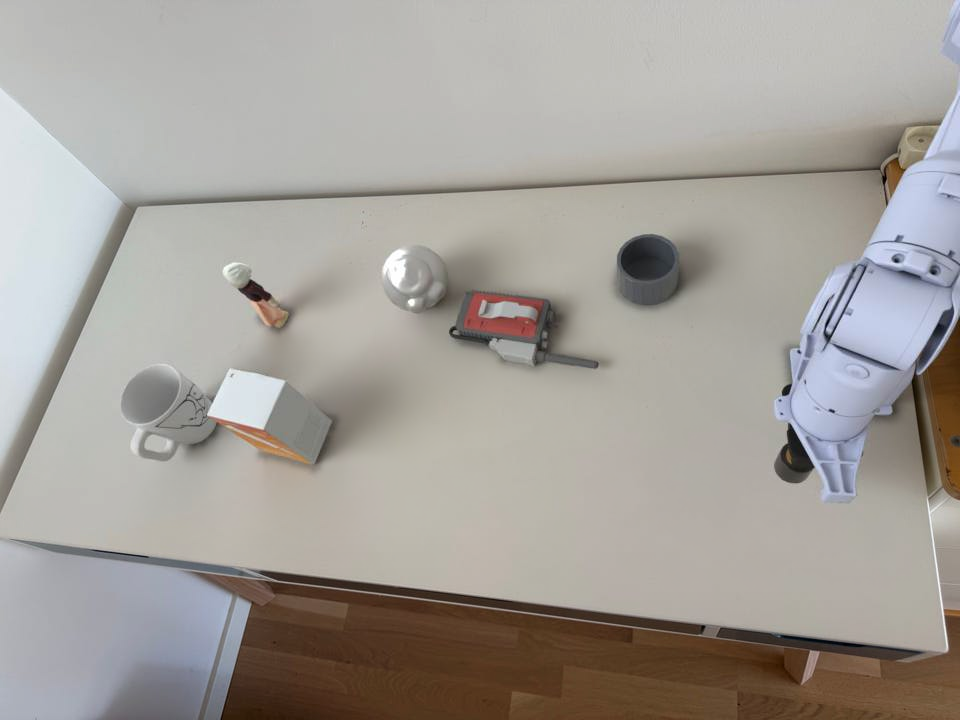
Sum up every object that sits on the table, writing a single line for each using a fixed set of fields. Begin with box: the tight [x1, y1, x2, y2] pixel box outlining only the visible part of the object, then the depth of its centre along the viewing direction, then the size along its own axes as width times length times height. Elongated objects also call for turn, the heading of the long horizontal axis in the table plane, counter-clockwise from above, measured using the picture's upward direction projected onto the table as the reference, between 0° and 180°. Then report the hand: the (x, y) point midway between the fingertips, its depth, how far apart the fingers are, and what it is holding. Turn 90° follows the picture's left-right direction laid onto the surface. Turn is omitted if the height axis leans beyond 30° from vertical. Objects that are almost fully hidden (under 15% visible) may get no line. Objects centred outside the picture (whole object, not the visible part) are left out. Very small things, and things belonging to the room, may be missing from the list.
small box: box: [207, 367, 333, 466], centre depth 79 cm, size 8×6×13 cm
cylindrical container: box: [616, 233, 680, 306], centre depth 82 cm, size 7×7×5 cm
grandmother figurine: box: [222, 261, 290, 328], centre depth 89 cm, size 8×4×13 cm, turn 68°
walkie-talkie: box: [448, 289, 600, 370], centre depth 82 cm, size 9×4×20 cm
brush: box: [773, 442, 815, 484], centre depth 60 cm, size 3×3×10 cm
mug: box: [119, 363, 217, 462], centre depth 84 cm, size 11×8×10 cm
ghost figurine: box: [380, 244, 449, 315], centre depth 86 cm, size 9×10×10 cm
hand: (801, 451), depth 60 cm, fingers closed on brush, 2 cm apart
